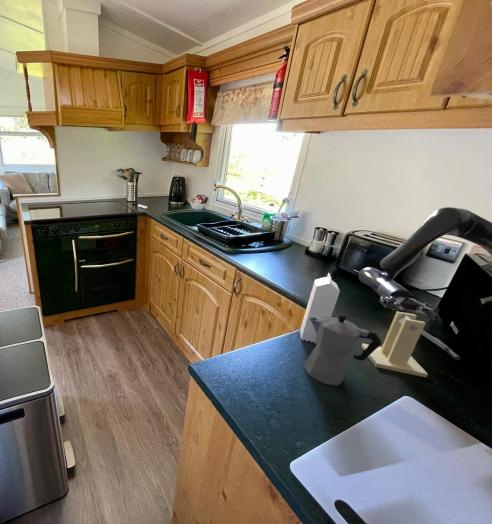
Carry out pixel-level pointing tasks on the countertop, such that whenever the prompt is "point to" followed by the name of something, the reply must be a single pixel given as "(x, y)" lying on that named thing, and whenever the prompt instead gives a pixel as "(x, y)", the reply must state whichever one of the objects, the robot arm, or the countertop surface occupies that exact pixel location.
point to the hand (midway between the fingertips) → (420, 315)
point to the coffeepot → (335, 348)
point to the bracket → (399, 346)
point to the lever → (436, 341)
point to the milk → (319, 305)
